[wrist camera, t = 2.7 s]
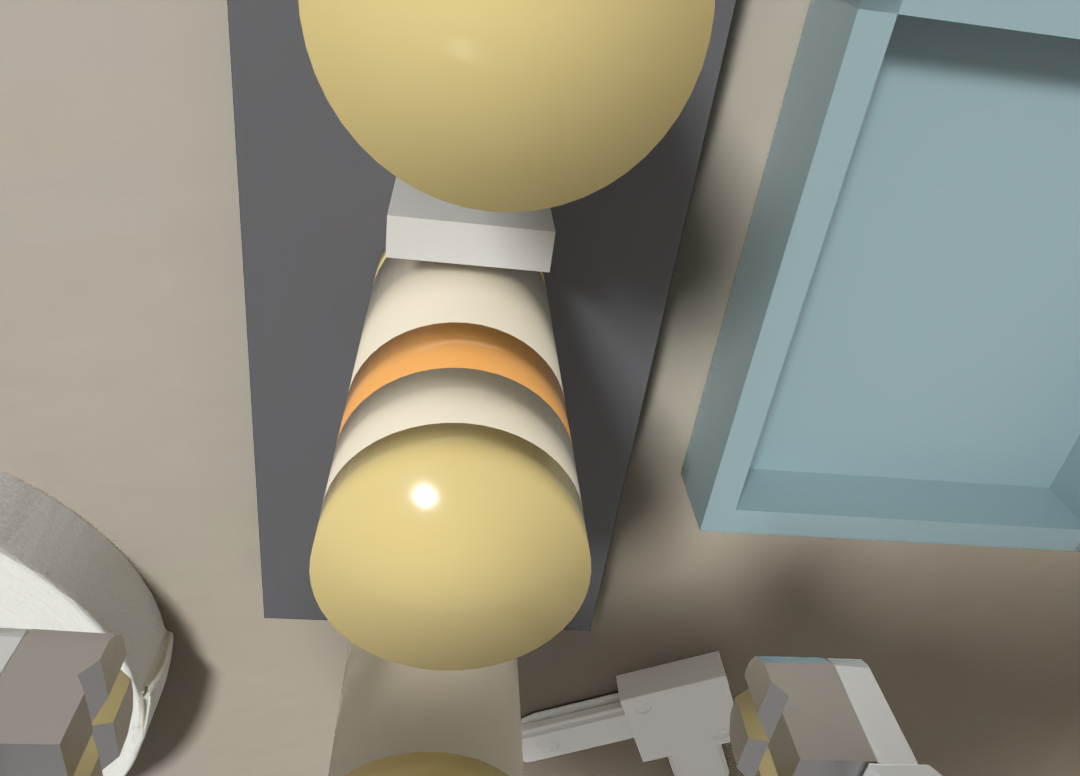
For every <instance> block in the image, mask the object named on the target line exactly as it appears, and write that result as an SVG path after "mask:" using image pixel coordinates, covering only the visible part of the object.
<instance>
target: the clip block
mask: <svg viewBox="0 0 1080 776" xmlns="http://www.w3.org/2000/svg"><path fill="white" fill-rule="evenodd" d="M735 3H736V0H715V12H714V18H713V24H712V31H711V37H710V42H709V45H708V49H707V53H706V56H705V60H704V63H703V67H702V69H701V72H700V74H699V77H698V79H697V81H696V84H695V86H694V89H693V91H692V93H691V95H690V97H689V99H688V100H687V102H686V104H685V106H684V108H683V109H682V111H681V113H680V115H679V117H678V118H677V119H676V121H675V122H674V123H673V125H672V126H671V128H670V129H669V130H668V132H667V133H666V134H665V136H664V137H663V138H662V139H661V141H660V142H659V143H658V144H657V145H656V146H655V147H654V148H653V149H652V150H651V151H650V152H649V153H648V155H647V156H646V157H645V158H643V159H642V160H641V161H640V162H639V163H637V164H636V165H635V166H634V167H633V168H632V169H630V170H629V171H628V172H627V173H626V174H624V175H622V176H621V177H619V178H618V179H616V180H615V181H613V182H612V183H610V184H609V185H607V186H606V187H604V188H602V189H600V190H598V191H596V192H594V193H592V194H590V195H588V196H586V197H584V198H581V199H578V200H575V201H572V202H569V203H566V204H564V205H561V206H556V207H551V208H547V209H542V210H537V211H526V212H514V213H512V212H489V211H483V210H476V209H470V208H465V207H462V206H458V205H455V204H451V203H448V202H445V201H442V200H439V199H437V198H435V197H432V196H430V195H428V194H425V193H423V192H421V191H419V190H417V189H415V188H414V187H412V186H410V185H409V184H407V183H405V182H404V181H402V180H400V179H399V178H397V177H396V176H394V175H393V174H392V173H391V172H389V171H388V170H387V169H385V168H384V167H383V166H381V165H380V164H379V163H377V162H376V161H375V160H374V159H373V158H372V157H371V156H370V155H369V154H368V153H367V152H366V151H365V150H364V149H363V148H362V147H361V146H360V145H359V144H358V143H357V141H356V140H355V139H354V138H353V136H352V135H351V134H350V133H349V132H348V130H347V129H346V128H345V127H344V125H343V124H342V123H341V121H340V120H339V118H338V116H337V115H336V113H335V112H334V110H333V108H332V107H331V105H330V104H329V102H328V100H327V99H326V96H325V94H324V92H323V90H322V88H321V86H320V84H319V82H318V79H317V77H316V75H315V73H314V70H313V67H312V64H311V61H310V58H309V55H308V52H307V49H306V45H305V40H304V36H303V31H302V26H301V21H300V14H299V2H298V0H227V5H228V21H229V38H230V55H231V71H232V88H233V105H234V121H235V138H236V155H237V171H238V188H239V205H240V221H241V238H242V254H243V271H244V288H245V304H246V321H247V338H248V354H249V371H250V388H251V404H252V421H253V438H254V454H255V471H256V488H257V504H258V521H259V537H260V554H261V571H262V587H263V604H264V618H282V619H308V620H328V619H327V618H326V617H325V615H324V614H323V612H322V611H321V609H320V607H319V605H318V603H317V601H316V599H315V597H314V594H313V590H312V587H311V582H310V573H309V567H310V556H311V552H312V547H313V543H314V539H315V534H316V530H317V526H318V521H319V517H320V513H321V508H322V504H323V500H324V495H325V491H326V487H327V483H328V478H329V474H330V470H331V465H332V461H333V457H334V452H335V448H336V444H337V439H338V435H339V431H340V426H341V422H342V418H343V413H344V409H345V405H346V400H347V396H348V392H349V387H350V383H351V379H352V374H353V370H354V366H355V361H356V357H357V353H358V348H359V344H360V340H361V335H362V331H363V327H364V322H365V318H366V314H367V309H368V305H369V301H370V296H371V292H372V288H373V283H374V279H375V275H376V270H377V267H378V263H379V259H380V257H381V255H382V252H383V250H384V249H385V247H386V257H388V258H399V259H409V260H420V261H431V262H442V263H453V264H464V265H475V266H485V267H496V268H507V269H518V270H529V271H540V272H543V273H544V278H545V284H546V290H547V296H548V302H549V308H550V314H551V320H552V326H553V332H554V339H555V345H556V351H557V357H558V363H559V369H560V375H561V381H562V387H563V393H564V399H565V405H566V411H567V417H568V423H569V429H570V435H571V441H572V447H573V453H574V459H575V465H576V471H577V477H578V483H579V489H580V495H581V502H582V508H583V514H584V520H585V526H586V532H587V538H588V544H589V550H590V556H591V577H590V584H589V588H588V591H587V594H586V597H585V599H584V601H583V603H582V605H581V607H580V609H579V610H578V612H577V613H576V614H575V616H574V617H573V619H572V620H571V621H570V622H569V623H568V624H567V625H566V626H565V628H564V629H565V630H590V628H591V624H592V620H593V615H594V611H595V607H596V602H597V598H598V594H599V589H600V585H601V581H602V576H603V572H604V568H605V563H606V559H607V555H608V551H609V546H610V542H611V538H612V533H613V529H614V525H615V520H616V516H617V512H618V507H619V503H620V499H621V494H622V490H623V486H624V481H625V477H626V473H627V469H628V464H629V460H630V456H631V451H632V447H633V443H634V438H635V434H636V430H637V425H638V421H639V417H640V412H641V408H642V404H643V400H644V395H645V391H646V387H647V382H648V378H649V374H650V369H651V365H652V361H653V356H654V352H655V348H656V343H657V339H658V335H659V331H660V326H661V322H662V318H663V313H664V309H665V305H666V300H667V296H668V292H669V287H670V283H671V279H672V274H673V270H674V266H675V261H676V257H677V253H678V249H679V244H680V240H681V236H682V231H683V227H684V223H685V218H686V214H687V210H688V205H689V201H690V197H691V192H692V188H693V184H694V180H695V175H696V171H697V167H698V162H699V158H700V154H701V149H702V145H703V141H704V136H705V132H706V128H707V123H708V119H709V115H710V111H711V106H712V102H713V98H714V93H715V89H716V85H717V80H718V76H719V72H720V67H721V63H722V59H723V54H724V50H725V46H726V41H727V37H728V33H729V29H730V24H731V20H732V16H733V11H734V7H735Z"/></svg>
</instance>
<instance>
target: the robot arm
mask: <svg viewBox="0 0 1080 776" xmlns="http://www.w3.org/2000/svg"><path fill="white" fill-rule="evenodd" d="M126 655H127V652H126V648H125V644H124V639H123V636H122V635H118V634H108V633H91V632H75V631H59V630H42V629H17V628H0V776H103V773H102V770H103V769H104V768H106V767H107V766H108V765H109V764H111V763H112V762H113V761H114V760H115V759H117V758H118V757H119V756H120V754H121V751H122V748H123V746H124V743H125V740H126V738H127V735H128V731H129V726H130V721H131V717H132V712H133V687H132V680H131V678H130V677H129V676H127V675H126V674H125V673H124V672H123V671H122V670H120V669H121V667H122V664H123V662H124V660H125V657H126ZM744 676H745V679H746V682H747V685H748V688H747V689H746V690H744V691H743V692H742V693H740V694H739V695H737V696H736V697H735V701H734V704H733V707H732V710H731V713H730V733H729V734H730V741H731V748H732V753H733V757H734V760H735V764H736V767H737V769H738V770H739V771H740V772H741V773H742V774H743V775H744V776H942V775H941V774H940V773H939V772H937V771H936V770H935V769H934V768H933V767H931V766H930V765H925V764H918V762H917V760H916V758H915V756H914V754H913V752H912V750H911V748H910V746H909V744H908V742H907V740H906V738H905V736H904V734H903V732H902V731H901V729H900V727H899V725H898V723H897V721H896V719H895V717H894V715H893V713H892V711H891V709H890V707H889V705H888V703H887V701H886V699H885V697H884V695H883V693H882V691H881V689H880V687H879V685H878V683H877V681H876V679H875V678H874V676H873V674H872V672H871V670H870V668H869V666H868V665H867V664H866V663H865V662H864V661H863V660H862V659H839V658H825V659H823V658H821V657H781V656H755V657H754V658H752V659H751V660H750V661H749V663H748V665H747V668H746V671H745V673H744Z"/></svg>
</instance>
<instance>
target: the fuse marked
mask: <svg viewBox="0 0 1080 776" xmlns="http://www.w3.org/2000/svg"><path fill="white" fill-rule="evenodd" d="M309 573H310V582H311V587H312V590H313V594H314V597H315V599H316V601H317V603H318V605H319V607H320V609H321V611H322V612H323V614H324V615H325V617H326V618H327V619H328V621H329V622H330V623H331V624H332V625H333V626H334V627H335V628H336V629H337V631H338V632H339V633H341V634H342V635H343V636H344V637H346V638H347V639H348V640H349V641H351V642H352V643H354V644H355V645H357V646H358V647H360V648H362V649H363V650H365V651H367V652H369V653H371V654H373V655H375V656H377V657H380V658H383V659H385V660H388V661H391V662H394V663H397V664H401V665H405V666H409V667H415V668H421V669H428V670H441V671H456V670H469V669H478V668H483V667H489V666H494V665H497V664H501V663H504V662H508V661H510V660H513V659H516V658H518V657H521V656H523V655H525V654H527V653H529V652H531V651H533V650H535V649H537V648H539V647H540V646H542V645H543V644H545V643H546V642H548V641H550V640H551V639H552V638H553V637H555V636H556V635H557V634H558V633H559V632H561V631H562V630H563V629H564V628H565V626H566V625H567V624H568V623H569V622H570V621H571V620H572V619H573V617H574V616H575V614H576V613H577V612H578V610H579V609H580V607H581V605H582V603H583V601H584V599H585V597H586V594H587V591H588V588H589V584H590V577H591V556H590V550H589V544H588V538H587V532H586V526H585V520H584V514H583V508H582V502H581V495H580V489H579V483H578V477H577V471H576V465H575V459H574V453H573V447H572V441H571V435H570V429H569V423H568V417H567V411H566V405H565V399H564V393H563V387H562V381H561V375H560V369H559V363H558V357H557V351H556V345H555V339H554V332H553V326H552V320H551V314H550V308H549V302H548V296H547V290H546V284H545V278H544V273H543V272H540V271H529V270H518V269H507V268H496V267H485V266H475V265H464V264H453V263H442V262H431V261H420V260H409V259H399V258H388V257H386V247H385V249H384V250H383V252H382V255H381V257H380V259H379V263H378V267H377V270H376V275H375V279H374V283H373V288H372V292H371V296H370V301H369V305H368V309H367V314H366V318H365V322H364V327H363V331H362V335H361V340H360V344H359V348H358V353H357V357H356V361H355V366H354V370H353V374H352V379H351V383H350V387H349V392H348V396H347V400H346V405H345V409H344V413H343V418H342V422H341V426H340V431H339V435H338V439H337V444H336V448H335V452H334V457H333V461H332V465H331V470H330V474H329V478H328V483H327V487H326V491H325V495H324V500H323V504H322V508H321V513H320V517H319V521H318V526H317V530H316V534H315V539H314V543H313V547H312V552H311V556H310V567H309Z"/></svg>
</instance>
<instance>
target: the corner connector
mask: <svg viewBox="0 0 1080 776" xmlns="http://www.w3.org/2000/svg"><path fill="white" fill-rule="evenodd" d="M616 680H617V686H618V692H619V693H615V694H611V695H606V696H602V697H598V698H594V699H590V700H586V701H581V702H577V703H573V704H569V705H565V706H561V707H557V708H552V709H548V710H544V711H540V712H536V713H533V714H531V715H529V716H526V717H524V718H522V719H521V734H522V752H523V761H524V762H534V761H538V760H542V759H546V758H551V757H555V756H559V755H563V754H568V753H572V752H576V751H580V750H585V749H589V748H593V747H597V746H602V745H606V744H610V743H614V742H619V741H623V740H627V739H631V738H634V739H635V742H636V745H637V747H638V750H639V753H640V755H641V758H642V760H643V762H647V761H651V760H656V759H660V758H664V757H668V759H669V762H670V765H671V768H672V771H673V774H674V776H729V769H728V766H727V762H726V759H725V755H724V752H723V748H722V745H721V744H725V743H729V742H731V741H730V734H729V733H730V713H731V710H732V707H733V704H734V703H733V699H732V696H731V692H730V688H729V684H728V680H727V677H726V673H725V670H724V667H723V664H722V660H721V657H720V654H719V651H715V652H711V653H707V654H703V655H699V656H695V657H691V658H687V659H683V660H679V661H674V662H670V663H666V664H662V665H658V666H654V667H650V668H646V669H642V670H638V671H634V672H630V673H626V674H622V675H617V676H616Z"/></svg>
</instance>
